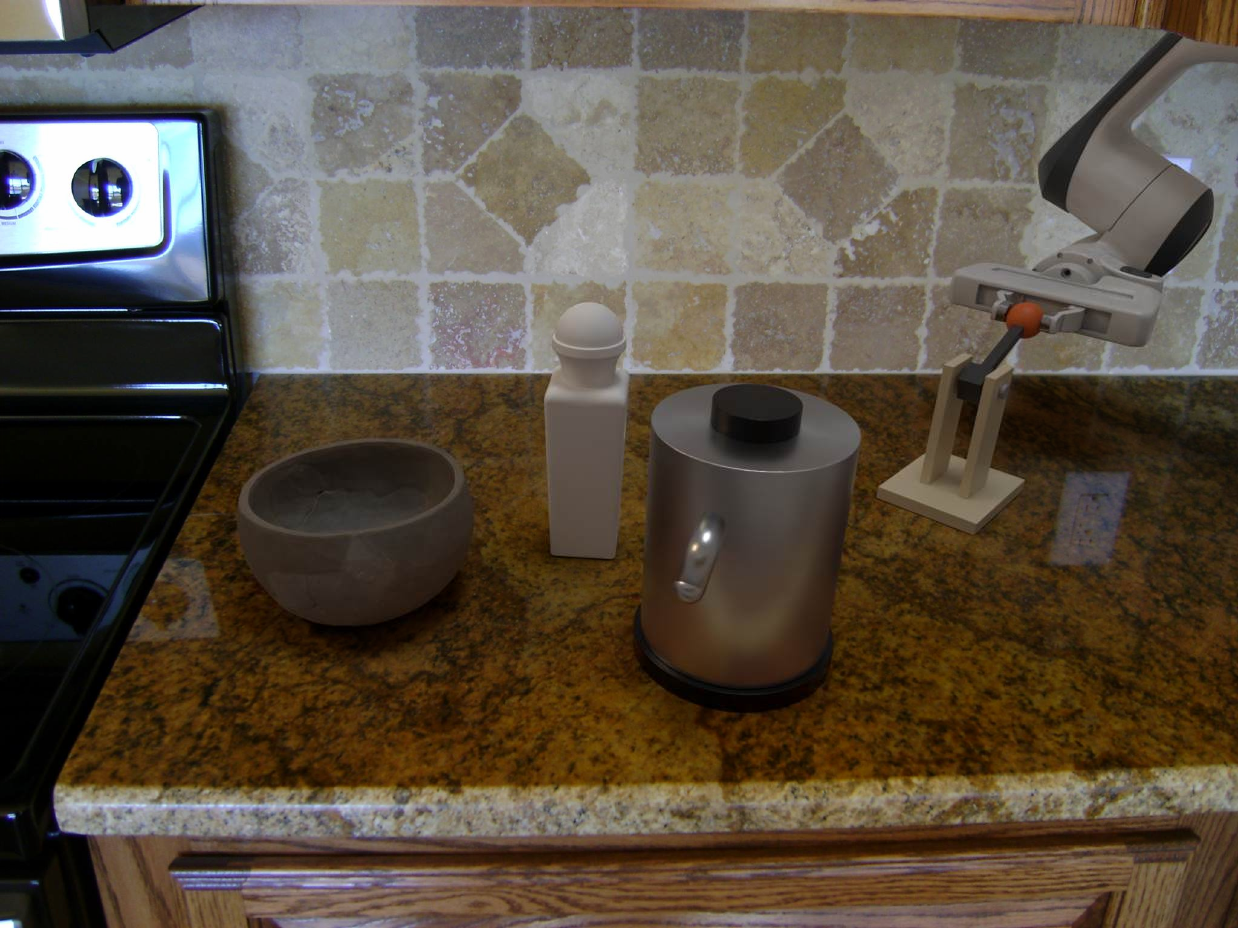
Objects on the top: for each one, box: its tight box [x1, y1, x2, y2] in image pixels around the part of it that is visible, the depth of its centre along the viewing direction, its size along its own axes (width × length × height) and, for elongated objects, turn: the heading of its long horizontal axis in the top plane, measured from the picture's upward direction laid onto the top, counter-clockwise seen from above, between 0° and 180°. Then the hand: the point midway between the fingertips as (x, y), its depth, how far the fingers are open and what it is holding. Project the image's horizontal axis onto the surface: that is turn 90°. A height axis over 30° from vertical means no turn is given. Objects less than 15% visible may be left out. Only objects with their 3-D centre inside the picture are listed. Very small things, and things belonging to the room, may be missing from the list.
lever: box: [957, 302, 1044, 406], centre depth 90 cm, size 14×4×4 cm, turn 138°
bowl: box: [236, 437, 475, 627], centre depth 74 cm, size 17×18×10 cm
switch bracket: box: [875, 352, 1026, 536], centre depth 90 cm, size 12×10×14 cm
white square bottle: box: [543, 301, 631, 560], centre depth 78 cm, size 6×6×22 cm
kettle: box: [632, 382, 862, 713], centre depth 66 cm, size 22×15×20 cm
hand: (1022, 319), depth 92 cm, fingers closed on lever, 3 cm apart
